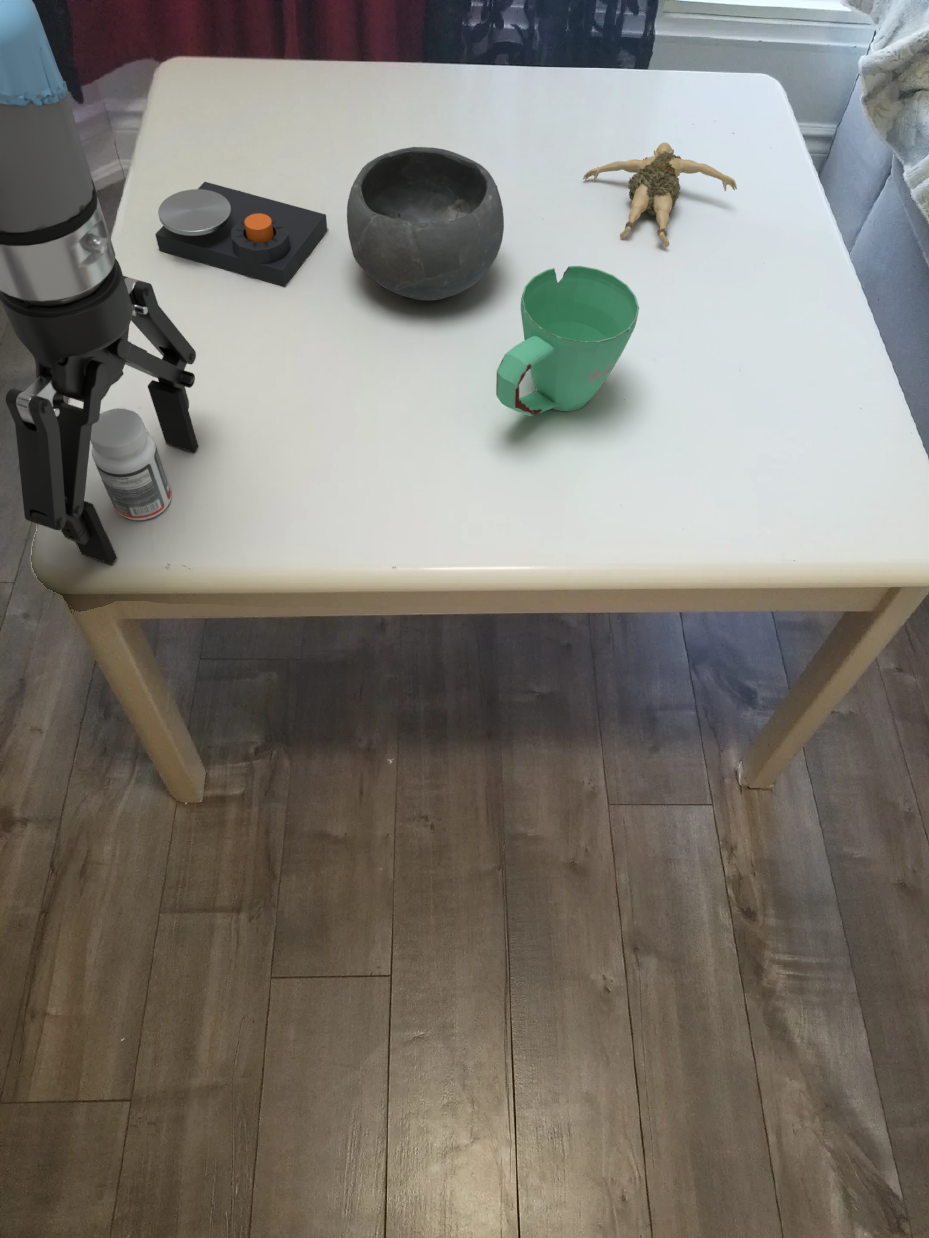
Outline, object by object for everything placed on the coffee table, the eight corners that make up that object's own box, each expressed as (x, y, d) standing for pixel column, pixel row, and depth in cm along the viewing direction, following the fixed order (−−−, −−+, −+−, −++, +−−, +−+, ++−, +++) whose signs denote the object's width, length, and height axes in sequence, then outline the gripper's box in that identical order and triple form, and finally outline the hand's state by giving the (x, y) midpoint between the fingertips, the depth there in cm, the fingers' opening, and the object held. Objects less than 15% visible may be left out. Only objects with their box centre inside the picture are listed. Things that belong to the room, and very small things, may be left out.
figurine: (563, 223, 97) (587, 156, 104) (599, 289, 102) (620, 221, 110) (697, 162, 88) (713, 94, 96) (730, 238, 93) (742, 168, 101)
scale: (327, 231, 96) (325, 200, 93) (283, 288, 90) (279, 257, 87) (207, 198, 98) (201, 166, 95) (158, 252, 92) (149, 221, 89)
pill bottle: (131, 471, 76) (103, 397, 69) (182, 486, 76) (159, 413, 69) (101, 513, 74) (69, 439, 67) (154, 528, 73) (127, 456, 66)
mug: (553, 342, 88) (568, 250, 79) (637, 391, 85) (662, 301, 76) (454, 422, 81) (459, 332, 73) (541, 479, 78) (557, 391, 70)
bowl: (481, 338, 88) (489, 246, 79) (332, 310, 89) (323, 216, 80) (511, 246, 96) (520, 154, 87) (373, 222, 97) (370, 128, 88)
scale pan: (161, 239, 88) (160, 234, 87) (157, 197, 92) (155, 192, 91) (235, 232, 89) (234, 227, 89) (227, 190, 93) (227, 186, 92)
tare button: (278, 231, 90) (276, 217, 89) (266, 246, 89) (263, 232, 87) (254, 225, 90) (252, 210, 89) (242, 239, 89) (239, 225, 88)
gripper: (-13, 417, 50) (100, 629, 68) (206, 181, 62) (253, 413, 81) (-129, 379, 51) (13, 597, 69) (110, 156, 64) (177, 389, 82)
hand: (142, 498), depth 75 cm, fingers open, 12 cm apart
